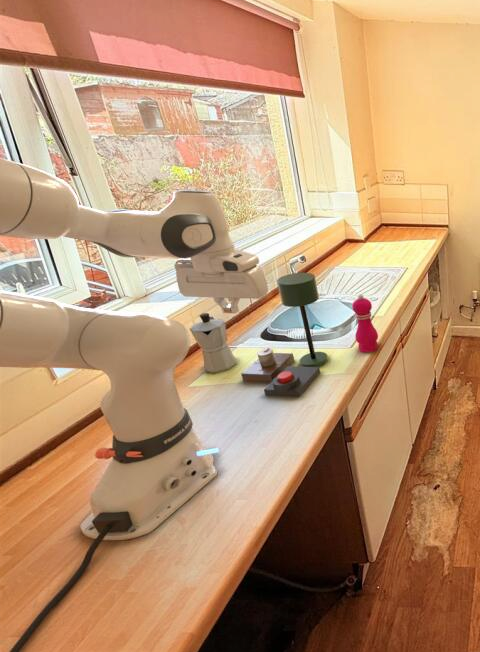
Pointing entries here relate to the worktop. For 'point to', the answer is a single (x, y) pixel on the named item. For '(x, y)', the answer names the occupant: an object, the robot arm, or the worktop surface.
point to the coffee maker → (213, 344)
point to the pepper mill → (365, 325)
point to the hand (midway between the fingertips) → (231, 312)
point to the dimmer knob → (266, 357)
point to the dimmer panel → (267, 369)
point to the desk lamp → (302, 309)
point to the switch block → (293, 382)
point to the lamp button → (285, 377)
